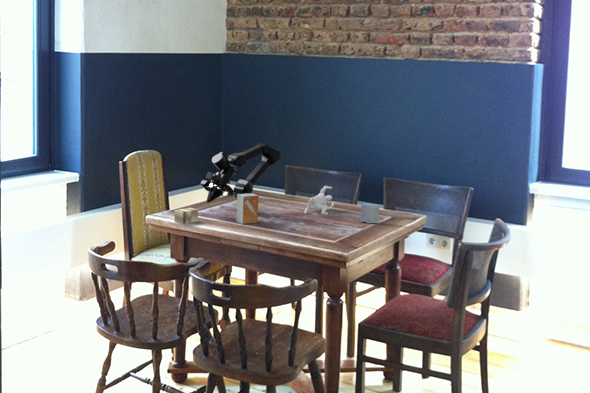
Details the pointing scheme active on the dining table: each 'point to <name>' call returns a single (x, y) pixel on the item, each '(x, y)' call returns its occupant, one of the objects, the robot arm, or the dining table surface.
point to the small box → (247, 208)
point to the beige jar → (186, 215)
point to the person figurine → (320, 202)
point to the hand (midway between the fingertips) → (207, 202)
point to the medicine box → (369, 213)
